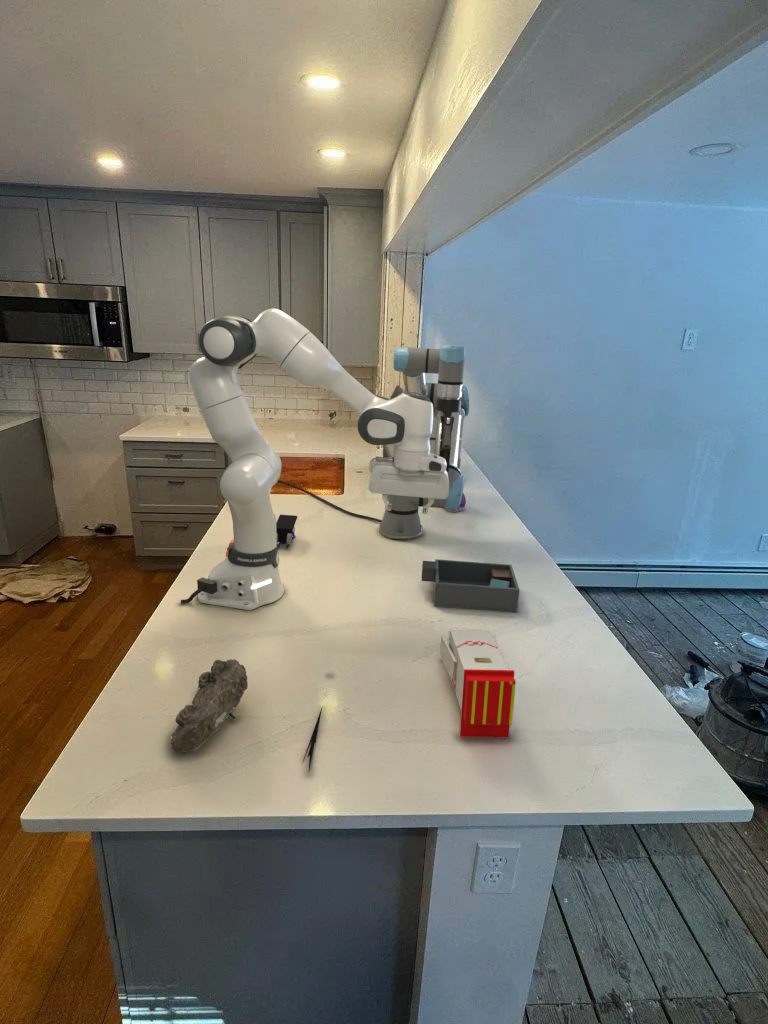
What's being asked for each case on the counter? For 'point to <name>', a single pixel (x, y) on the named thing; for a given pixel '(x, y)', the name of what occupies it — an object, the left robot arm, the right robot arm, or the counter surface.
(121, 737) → the counter surface
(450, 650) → the toy
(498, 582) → the teal cube
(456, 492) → the right robot arm
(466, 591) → the bin
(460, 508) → the figurine
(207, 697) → the fossil
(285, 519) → the figurine character
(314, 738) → the feather
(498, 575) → the walnut cube
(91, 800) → the counter surface
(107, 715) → the counter surface
